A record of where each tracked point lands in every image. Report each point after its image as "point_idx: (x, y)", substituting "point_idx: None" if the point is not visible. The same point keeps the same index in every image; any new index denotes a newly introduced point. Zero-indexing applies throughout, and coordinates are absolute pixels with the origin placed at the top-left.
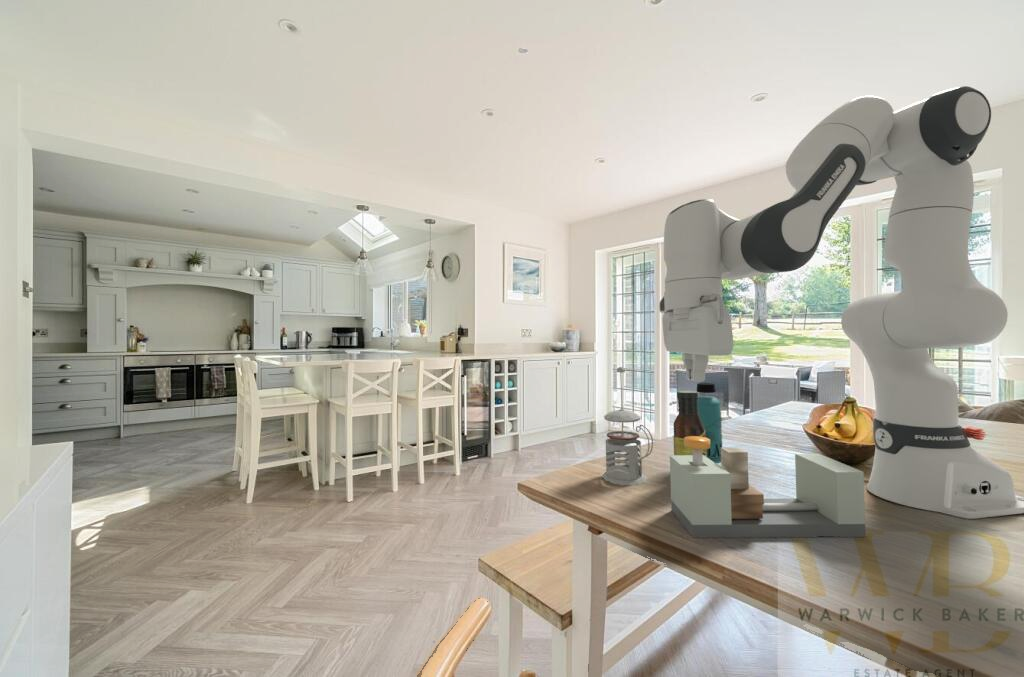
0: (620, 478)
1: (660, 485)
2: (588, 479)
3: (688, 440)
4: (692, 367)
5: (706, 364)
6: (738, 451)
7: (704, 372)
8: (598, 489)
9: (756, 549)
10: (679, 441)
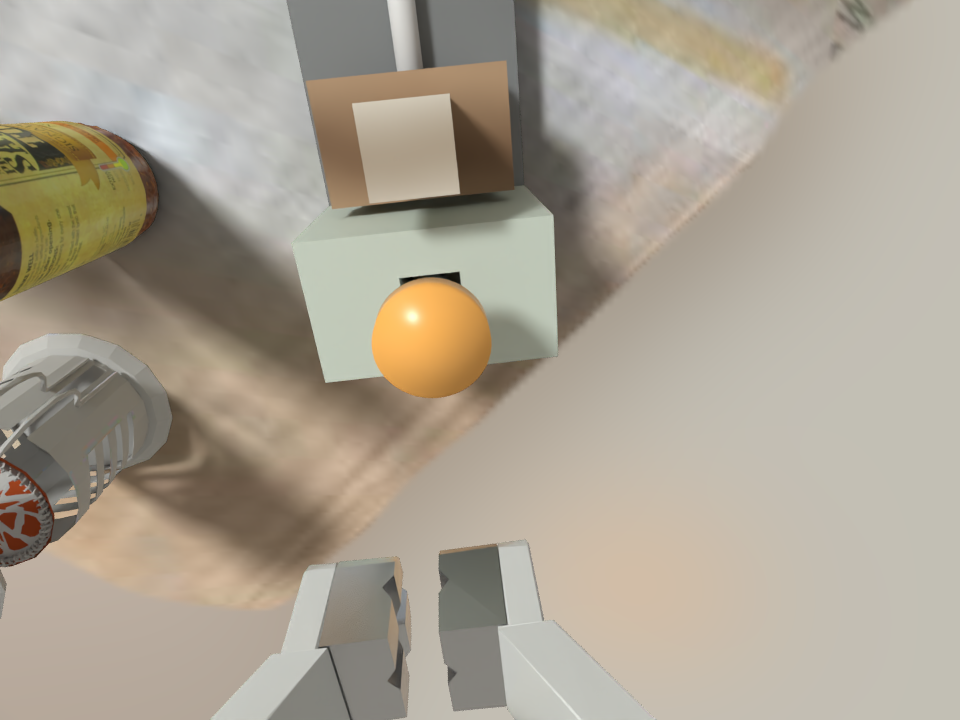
0: (146, 428)
1: (131, 296)
2: (149, 505)
3: (462, 388)
4: (326, 710)
5: (617, 691)
6: (438, 137)
7: (540, 606)
8: (232, 479)
9: (582, 137)
10: (21, 287)
